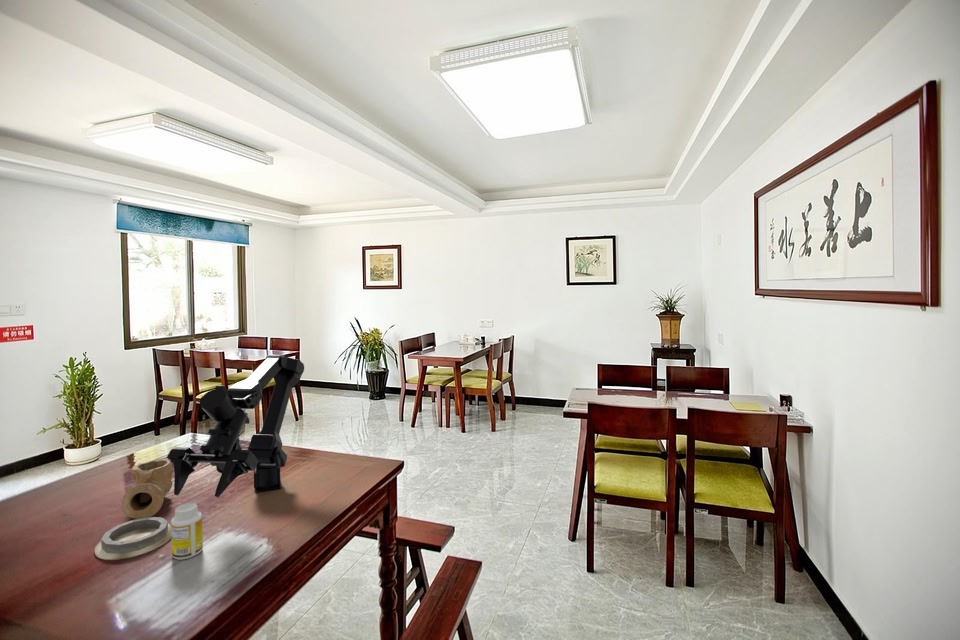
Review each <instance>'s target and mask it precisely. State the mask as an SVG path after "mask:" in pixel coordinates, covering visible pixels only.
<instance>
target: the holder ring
mask: <svg viewBox="0 0 960 640" xmlns="http://www.w3.org/2000/svg"><path fill="white" fill-rule="evenodd" d="M171 540H172V537H171V523H170V524H169V522H168V520H166V519H165V518H163V517H157V516H151V517H147V518H141V519H135V518H134V519H132V520H129V521H125V522H123V523H120V524H118V525H115V526H114V527H112V528H110V529H109V530H107V531H106V532H105V533H104V534H103V536H102V537H101V538H100V541H99V542H98V543H97V544H96V545H95V547H94V555H95V556H96V558H98V559H101V560H105V561H119V560H124V559H130V558H131V559H132V558H135V557H138V556H141V555H145V554H147V553H150V552H152V551H154V550H157V549H158V548H160V547H162V546H163V545H165V544H167V542H169V541H171Z"/></svg>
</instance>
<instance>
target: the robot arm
mask: <svg viewBox="0 0 960 640" xmlns="http://www.w3.org/2000/svg"><path fill="white" fill-rule="evenodd" d="M304 372H305V364H304V362H302V360H301V359H297V358H292V357H288V356H287V355H284V354H272V353H271V354H268V355H266V356H265V360H264V361H263V362H262V363H261V364H260V365H259V366H258V367H257V368H256V369H255V370H254V371H253V372H252V373H251V375H249V376H248V377H247V378H246V379H244V380H241V381H237V382H236V383H234V384H233V385H231V386H230V387H228V388H227V387H226V386H225V385H216V386H215V387H214V389H210V390H208V391H207V392H206V393H205V394H203V395H202V396H201V398H200V399H199V406H200V408H201V409H202V410H203V411H204V412H205V413H206V414H207V416H208V417H210V418H211V420H212V421H214V422H216V424H215V425H214V428H210V429H208V432H207V434H208V435H209V438H208V440H207V441H206V444H201V445H200V448H199V450H200V451H201V453H197V452H195V451H194V450H192V449H191V447H185V446H184V447H182V446H181V447H180V446H179V447H178V446H175V447H173V448H171V449H170V450H169V452H168V454H167V456H166V459H167V460H168V461H170V462H171V464H173V470H174V471H173V472H174V483H173V486H174V487H173V494H174V495H175V496H179V495H180V494H181V492H182V491H183V489H184V487H185V484H186V482H187V480H188V478H189V476H190V475H191V474H192V473H194V472H195V471H196V469H195V467H197V465H198V463H204V464H207V463H208V464H209V463H210V465H211V466H212V467H215V470H216V471H217V472H218V473H220V474H221V475H220V477H219V481H218V483H217V485H216V489H215V493H214V497H216V498H219V497H220V496H221V495H222V494H223V493H224V491H226V489H228V487H229V486H230V485H231V484H232V483H233V482H234V481H235V480H236V479H237V478H238V477H239V476H243V475H245V474H246V475H247V474H249V472H253V488H254V489H255V493H260V492H267V491H272V490H279V489H282V481H281V468H283V467H285V466H286V464H287V460H288V454H287V453H286V452H285V451H284V450H283V449H282V448H283V442H282V439H281V435H280V433H281V429H282V425H283V421H284V418H285V415H286V410H287V409H288V408H287V407H288V403H289V400H290V396H291V393H292V389H293V388H294V387H295V386H296V385H297V384H298V383H299V382H300V380H301V378H302V375H303V373H304ZM272 380H274V383H275V384H274V388H273V391H272V395H271V397H270V400H269V403H268V408H267V410H266V413H265V414H266V415H265V418H264V419H263V420H264V421H263V424H262V428H261V430H260V432H258V433H257V434H256V433H254V434H252V436H251V438H250V442H249V446H248V447H247V449H242V450H238V445H239V444H240V439H239V440H238V439H237V438H238V436H239V434H240V433H241V432H242V429H243V427H244V424H245V425H247V424H248V425H249V424H250V417H249V415H248V413H247V412H245V411H244V410H254V409H256V408H257V406H258V405H259V404H260V402H261V400H262V399H263V391H264V389H265V388H266V387H267V385H268V384H270V382H271V381H272ZM239 437H240V436H239Z"/></svg>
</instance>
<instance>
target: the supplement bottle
mask: <svg viewBox="0 0 960 640" xmlns="http://www.w3.org/2000/svg"><path fill="white" fill-rule="evenodd" d="M174 510H175V511H174V516H173V517H172V518H171V520H170V525H171V537H172V538H171V556H172V558H174V559H175V560H178V561H179V560H182V561H183V560H187V559H191V558H194V557H196V556H197V555H198V554H200V553H201V552H202V550H203V547H204V544H203V543H204V541H203V537H204V536H203V535H204V533H203V515H202V512H201V511H199V509H198V504H197V503H196V502H195V503H194V502H189V503H188V502H187V503H183V504H181V505H179V506H177V507H176V508H175V509H174Z"/></svg>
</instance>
